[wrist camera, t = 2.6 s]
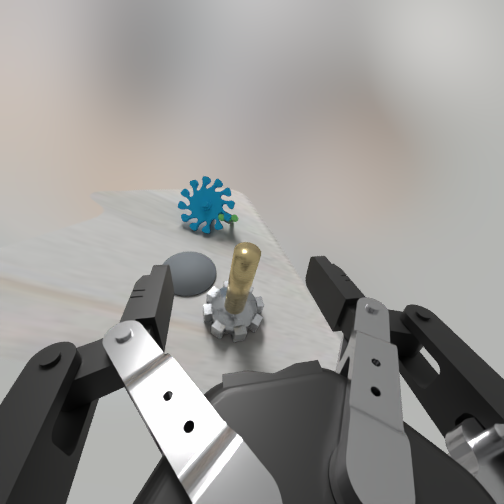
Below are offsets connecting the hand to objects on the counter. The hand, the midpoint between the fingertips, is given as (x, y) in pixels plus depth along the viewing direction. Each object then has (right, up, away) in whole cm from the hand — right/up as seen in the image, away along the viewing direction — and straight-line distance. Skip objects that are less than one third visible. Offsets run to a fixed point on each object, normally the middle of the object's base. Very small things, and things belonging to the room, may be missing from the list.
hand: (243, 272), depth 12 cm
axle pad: (-9, -2, +20) cm, 22 cm away
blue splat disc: (-8, +7, +29) cm, 30 cm away
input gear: (-2, -7, +17) cm, 18 cm away
